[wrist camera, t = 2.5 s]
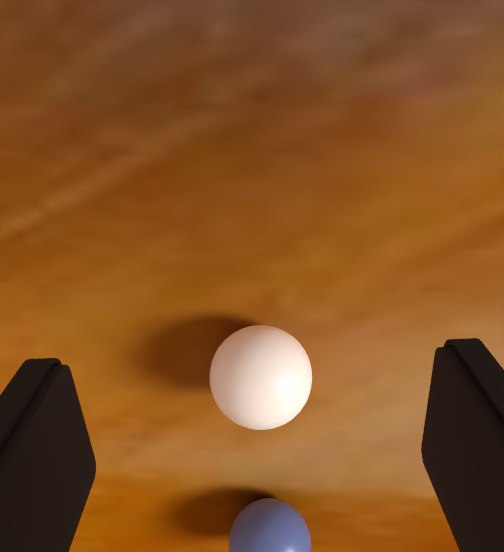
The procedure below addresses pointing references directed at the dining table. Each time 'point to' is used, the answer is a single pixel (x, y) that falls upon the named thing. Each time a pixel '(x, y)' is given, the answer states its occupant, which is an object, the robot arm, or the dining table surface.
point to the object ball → (269, 528)
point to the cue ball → (260, 377)
